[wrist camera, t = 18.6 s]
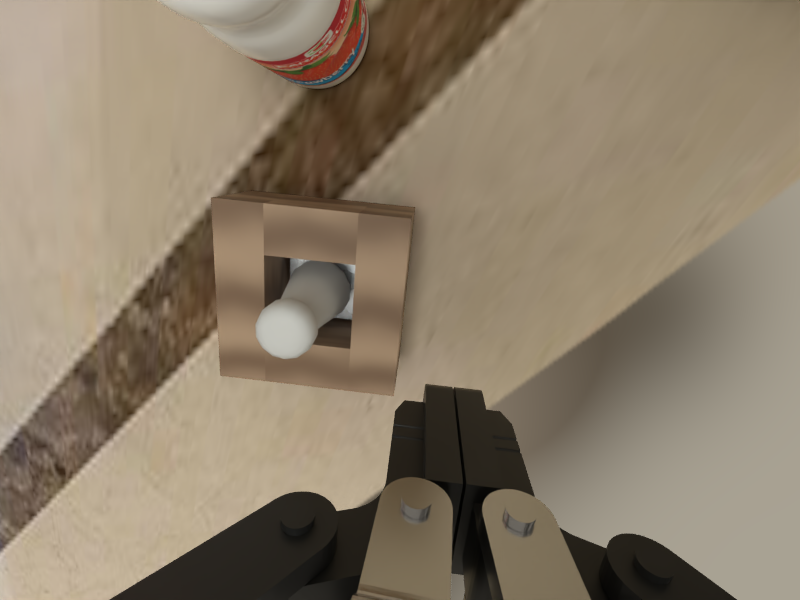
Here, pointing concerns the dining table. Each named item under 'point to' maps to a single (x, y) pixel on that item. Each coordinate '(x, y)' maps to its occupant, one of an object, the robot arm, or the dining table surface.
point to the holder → (270, 273)
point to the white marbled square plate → (350, 275)
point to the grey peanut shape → (303, 309)
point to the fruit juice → (288, 34)
